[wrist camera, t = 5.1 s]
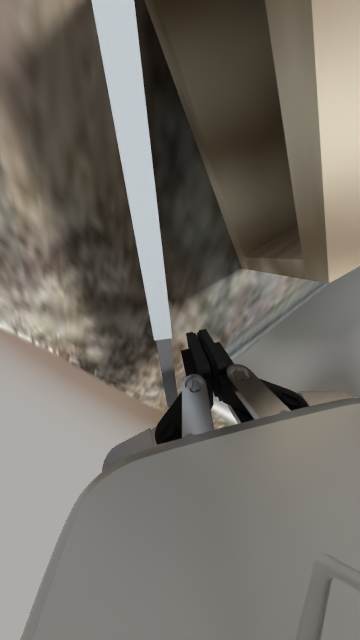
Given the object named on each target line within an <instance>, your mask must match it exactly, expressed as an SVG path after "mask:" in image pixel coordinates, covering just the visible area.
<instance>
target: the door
mask: <svg viewBox="0 0 360 640" xmlns="http://www.w3.org/2000/svg"><path fill="white" fill-rule="evenodd" d="M91 1H92V6H93V12H94V17H95V22H96V28H97V33H98V39H99V44H100V50H101V55H102V60H103V66H104V71H105V77H106V82H107V87H108V93H109V98H110V104H111V109H112V115H113V120H114V125H115V131H116V136H117V142H118V147H119V153H120V158H121V163H122V169H123V174H124V180H125V185H126V191H127V196H128V201H129V207H130V212H131V218H132V223H133V228H134V234H135V239H136V245H137V250H138V256H139V261H140V266H141V272H142V277H143V283H144V288H145V294H146V299H147V304H148V310H149V315H150V321H151V326H152V332H153V337H154V340H156V343H157V349H158V354H159V360H160V366H161V371H162V377H163V383H164V388H165V394H166V400H167V405H168V407H171V405H172V404H173V403H174V401H175V400H176V399H177V389H176V380H175V372H174V364H173V355H172V347H171V338H172V331H171V322H170V313H169V305H168V296H167V287H166V278H165V269H164V260H163V251H162V243H161V234H160V225H159V216H158V207H157V198H156V189H155V181H154V172H153V163H152V154H151V145H150V136H149V127H148V119H147V110H146V101H145V92H144V83H143V74H142V65H141V56H140V48H139V39H138V30H137V21H136V12H135V3H134V0H91Z"/></svg>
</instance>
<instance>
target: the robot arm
mask: <svg viewBox="0 0 360 640" xmlns="http://www.w3.org/2000/svg"><path fill="white" fill-rule="evenodd" d="M186 336H187V341H188V347H189V349H186V350H181V354H182V358H183V363H184V368H185V372H186V378H185V379H184V380H183V383H182V392H181V393H180V394H179V396H178V397H177V399H176V400H175V401H174V403H173V404H172V405H171V407H170V408H169V409H168V411H167V412H166V413H165V415H164V416H163V418H162V419H161V420H160V422H159V423H158V425H157V427H155V428H153V429H150V428H149V429H147V430H145V431H143V432H141V433H139V434H138V435H136V436H134V437H132V438H130V439H128V440H126V441H124V442H122V443H120V444H119V445H117V446H115V447H114V448H112V449H111V451H110V452H109V453H108V455H107V456H106V458H105V460H104V464H103V469H102V473H100V474H99V475H98V476H97V477H96V478H95V479H94V480H93V481H92V482H91V483H90V484H89V485H88V486H87V488H85V489H84V491H83V492H82V493H81V495H80V496H79V498H78V499H77V501H76V503H75V504H74V506H73V508H72V510H71V512H70V514H69V516H68V518H67V520H66V522H65V525H64V527H63V529H62V532H61V534H60V536H59V539H58V541H57V544H56V546H55V549H54V551H53V553H52V556H51V559H50V562H49V564H48V567H47V569H46V572H45V574H44V577H43V580H42V582H41V585H40V587H39V590H38V593H37V596H36V598H35V601H34V604H33V607H32V609H31V612H30V615H29V618H28V621H27V623H26V626H25V629H24V631H23V634H22V637H21V640H360V397H357V398H355V397H353V396H351V395H349V394H347V393H344V392H339V391H299V393H295V392H293V391H291V390H289V389H286V388H283V387H281V386H278V385H275V384H272V383H269V382H267V381H264V380H262V379H259V378H258V377H256V376H255V374H254V373H253V372H251V370H249V369H248V368H247V367H245V366H243V365H239V364H234V363H233V362H232V360H231V359H230V357H229V356H228V354H227V353H226V351H225V350H224V348H223V347H222V345H221V344H220V343H219V342H217V343H214V342H213V340H212V338H211V337H210V335H209V334H208V332H207V330H206V329H203V330H199V332H198V333H197V335H196V333H193V332H190V333H186ZM197 337H198V338H197ZM213 393H214V395H215V397H217V396H218V398H219V401H223V402H224V403H226V404H228V407H229V409H230V411H231V413H232V414H233V416H234V417H235V419H236V421H237V422H238V424H236V425H232V426H228V427H224V428H220V429H216V430H214V426H213V420H212V414H211V408H212V406H213Z"/></svg>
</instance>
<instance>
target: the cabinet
mask: <svg viewBox="0 0 360 640" xmlns="http://www.w3.org/2000/svg"><path fill="white" fill-rule="evenodd" d="M144 1H145V4H146V6H147V9H148V12H149V15H150V17H151V20H152V23H153V26H154V28H155V31H156V34H157V37H158V39H159V42H160V45H161V48H162V50H163V53H164V56H165V59H166V61H167V64H168V67H169V70H170V72H171V75H172V78H173V81H174V83H175V86H176V89H177V92H178V94H179V97H180V100H181V103H182V105H183V108H184V111H185V114H186V116H187V119H188V122H189V125H190V127H191V130H192V133H193V136H194V138H195V141H196V144H197V147H198V149H199V152H200V155H201V158H202V160H203V163H204V166H205V169H206V171H207V174H208V177H209V180H210V182H211V185H212V188H213V191H214V193H215V196H216V199H217V202H218V204H219V207H220V210H221V213H222V215H223V218H224V221H225V224H226V226H227V229H228V232H229V235H230V237H231V240H232V243H233V246H234V248H235V251H236V254H237V257H238V259H239V262H240V265H241V268H243V269H249V270H255V271H260V272H266V273H272V274H278V275H284V276H289V277H295V278H301V279H307V280H313V281H318V282H324V283H331V282H332V281H334V280H336V279H338V278H339V277H341V276H343V275H345V274H346V273H348V272H350V271H352V270H354V269H355V268H357V267H359V266H360V0H144Z"/></svg>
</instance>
